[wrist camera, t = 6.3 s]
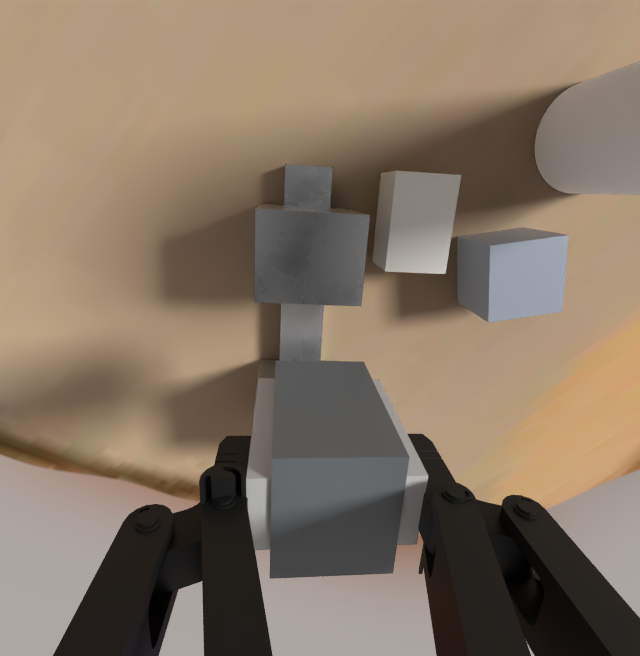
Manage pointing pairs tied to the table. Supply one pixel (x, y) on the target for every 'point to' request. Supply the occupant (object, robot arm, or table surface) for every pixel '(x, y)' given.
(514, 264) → the loose block slate
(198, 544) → the robot arm
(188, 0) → the table surface
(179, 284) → the table surface
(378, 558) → the block
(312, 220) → the grey stepped block assembly
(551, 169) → the cylindrical container
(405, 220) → the loose block white
